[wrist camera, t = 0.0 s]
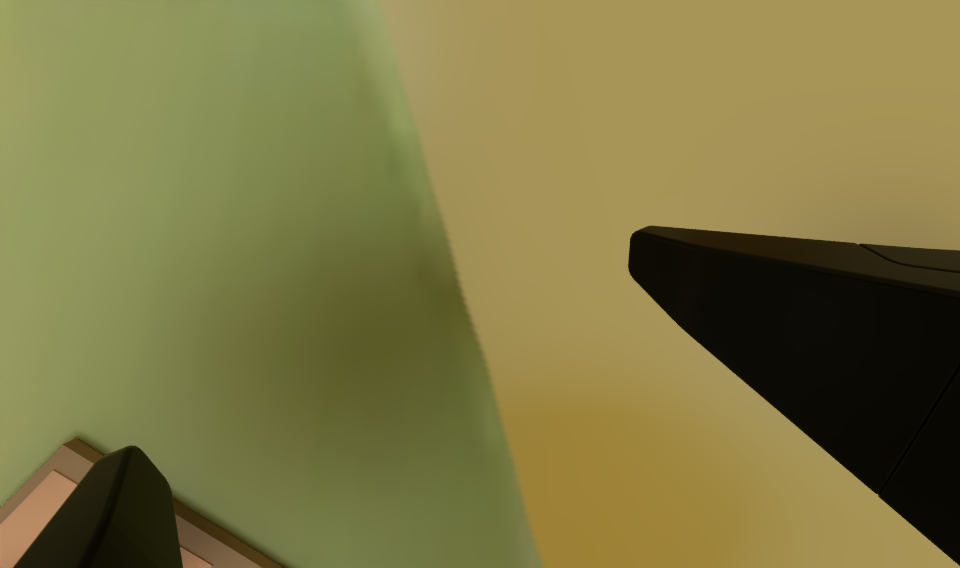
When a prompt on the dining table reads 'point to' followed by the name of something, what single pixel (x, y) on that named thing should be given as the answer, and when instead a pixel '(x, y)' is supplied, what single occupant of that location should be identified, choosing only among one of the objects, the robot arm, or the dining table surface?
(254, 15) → the dining table surface
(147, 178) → the dining table surface
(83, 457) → the game board
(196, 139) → the dining table surface
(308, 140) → the dining table surface
